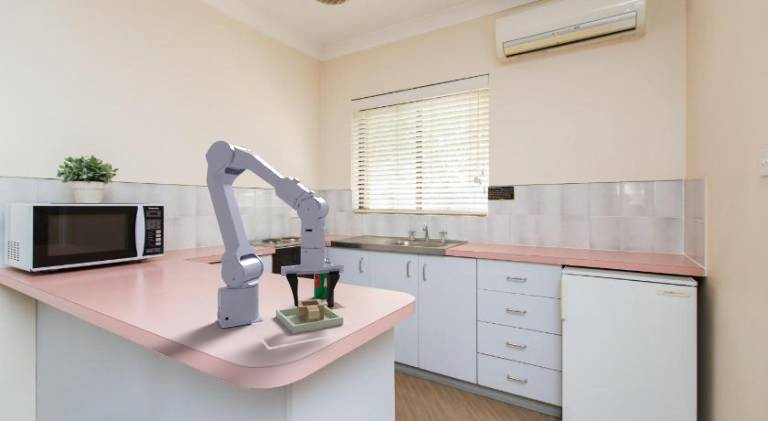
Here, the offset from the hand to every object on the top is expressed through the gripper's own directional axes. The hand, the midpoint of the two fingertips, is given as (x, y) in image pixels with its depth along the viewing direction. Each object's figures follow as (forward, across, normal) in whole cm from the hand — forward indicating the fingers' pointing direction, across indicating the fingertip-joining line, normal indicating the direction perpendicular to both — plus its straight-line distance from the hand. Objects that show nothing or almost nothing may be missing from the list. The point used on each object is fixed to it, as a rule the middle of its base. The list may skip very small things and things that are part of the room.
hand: (312, 303), depth 86 cm
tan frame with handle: (+5, 0, -3) cm, 6 cm away
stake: (+5, -7, -13) cm, 16 cm away
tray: (+5, 0, -3) cm, 6 cm away
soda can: (+5, -7, -24) cm, 26 cm away
